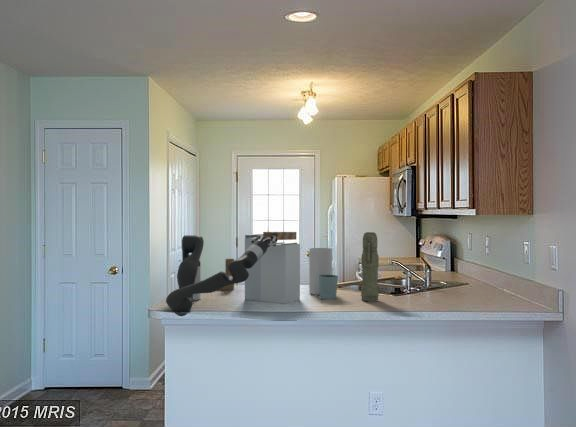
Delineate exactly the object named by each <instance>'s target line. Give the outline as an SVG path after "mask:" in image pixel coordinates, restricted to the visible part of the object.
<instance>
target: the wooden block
mask: <svg viewBox="0 0 576 427" xmlns="http://www.w3.org/2000/svg"><path fill="white" fill-rule="evenodd" d="M234 260H235V258H226V259H225V266H224V267H225V271H224V272H225V273H226V274H227V275H228V276H230V277H232V275H231V273H230V272H229V270H228V265H229V263H230V262H232V261H234ZM234 289H235V284H231V285H228V286H225V287H223V288H221V289H219V290H218V291H233V290H234Z"/></svg>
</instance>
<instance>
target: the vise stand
mask: <svg viewBox="0 0 576 427" xmlns="http://www.w3.org/2000/svg"><path fill="white" fill-rule="evenodd" d="M262 235H263V233H257V234H256V233H255V234H245V235H244V253H245V252H246V250H247V249H248V248H249V247H250V246H251V245H252V243H251V241H252V240H253V239H255V238H256V237H258V236H262ZM258 240H259V238H258ZM246 270H247V271H248V273H249V276H248V278H247V280H245V281H244V300H248V301H256V302H264V303H265V302H267V303H274V304H275V303H276V304H289V303H290V304H291V303H294V302H297V301H300V300H301V244H300V243H298V242H290V243H289V242H287V243H286V242H285V241H284V242H277V243H276V246H273V245H270V247H268V248H267V251H266V252H265V254H264V255H263V256H262V257H261V258H260V259H259V260H258V261H257V262H256V263H255V264H254V265H253V266H252V267H251V268H249V269H246Z"/></svg>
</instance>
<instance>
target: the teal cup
mask: <svg viewBox="0 0 576 427" xmlns="http://www.w3.org/2000/svg"><path fill="white" fill-rule="evenodd" d="M338 279H339V275H335V274H332V275H319V290H320V295H319V299H320V300H325V299H332V300H336V299H337V293H338V292H337V291H338V281H339V280H338Z"/></svg>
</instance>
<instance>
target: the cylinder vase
mask: <svg viewBox="0 0 576 427" xmlns="http://www.w3.org/2000/svg"><path fill="white" fill-rule="evenodd" d="M308 258H309V260H308V261H309V262H308V265H309V267H308V270H309V274H308V276H309V278H308V279H309V282H308V283H309V284H308V285H309V286H308V287H309V294H310V295H314V296H320V290H319V275H333V249H332V248H331V247H311V248H309V257H308Z"/></svg>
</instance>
